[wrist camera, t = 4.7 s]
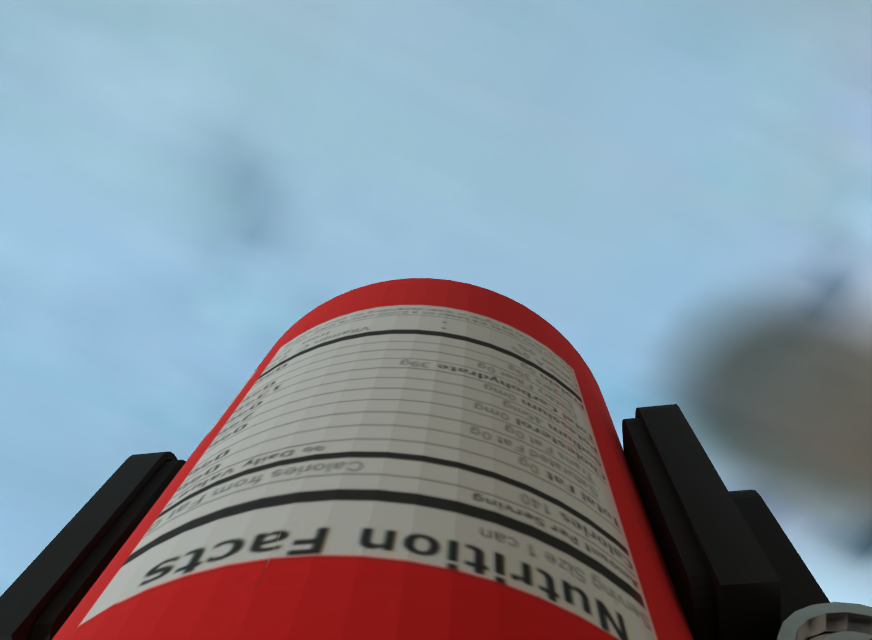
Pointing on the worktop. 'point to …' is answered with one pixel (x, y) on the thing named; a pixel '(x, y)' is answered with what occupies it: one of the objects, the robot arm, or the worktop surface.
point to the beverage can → (399, 492)
